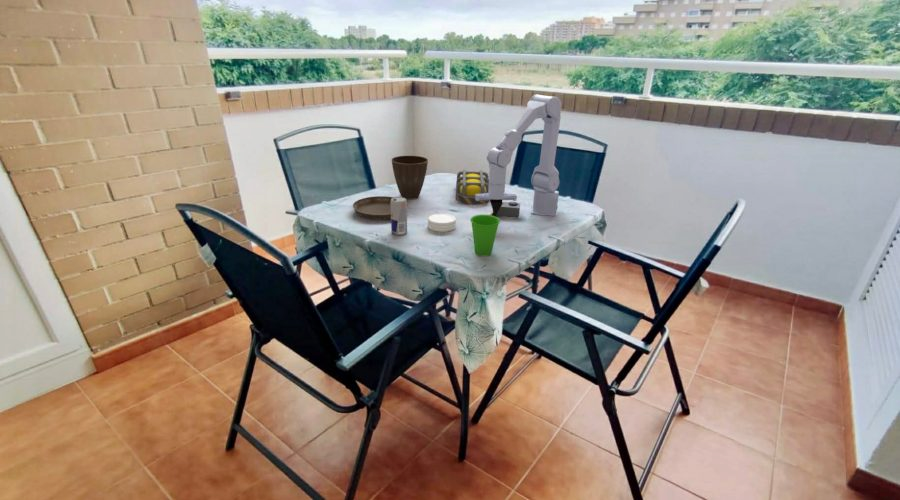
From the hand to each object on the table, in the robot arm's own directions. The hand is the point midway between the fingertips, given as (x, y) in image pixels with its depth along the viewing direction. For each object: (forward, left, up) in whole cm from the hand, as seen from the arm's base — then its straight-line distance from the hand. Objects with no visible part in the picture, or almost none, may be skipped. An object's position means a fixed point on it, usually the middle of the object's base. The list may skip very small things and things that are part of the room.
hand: (494, 219), depth 157 cm
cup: (+1, +26, -2) cm, 26 cm away
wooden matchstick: (+1, -3, -1) cm, 3 cm away
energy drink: (+31, +17, -2) cm, 35 cm away
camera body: (-4, -11, -2) cm, 12 cm away
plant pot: (+38, -22, -2) cm, 44 cm away
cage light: (+13, -33, -2) cm, 36 cm away
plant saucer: (+44, -1, -2) cm, 44 cm away
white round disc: (+18, +8, -2) cm, 20 cm away
